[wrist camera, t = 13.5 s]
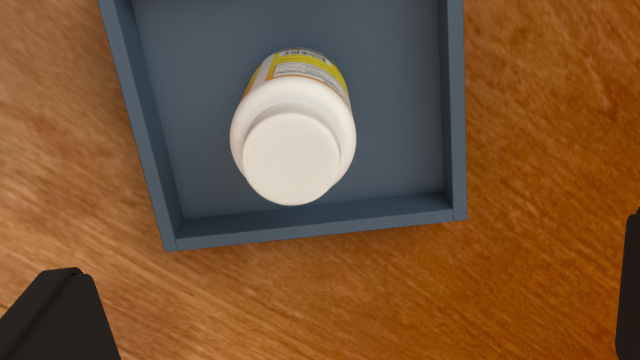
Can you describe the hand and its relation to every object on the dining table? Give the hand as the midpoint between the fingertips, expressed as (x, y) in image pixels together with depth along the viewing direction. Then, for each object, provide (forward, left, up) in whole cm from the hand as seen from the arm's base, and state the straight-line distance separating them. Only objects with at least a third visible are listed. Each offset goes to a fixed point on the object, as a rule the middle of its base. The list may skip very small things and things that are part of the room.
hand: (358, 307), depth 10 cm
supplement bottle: (+2, +2, -23) cm, 23 cm away
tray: (+2, +2, -23) cm, 23 cm away
